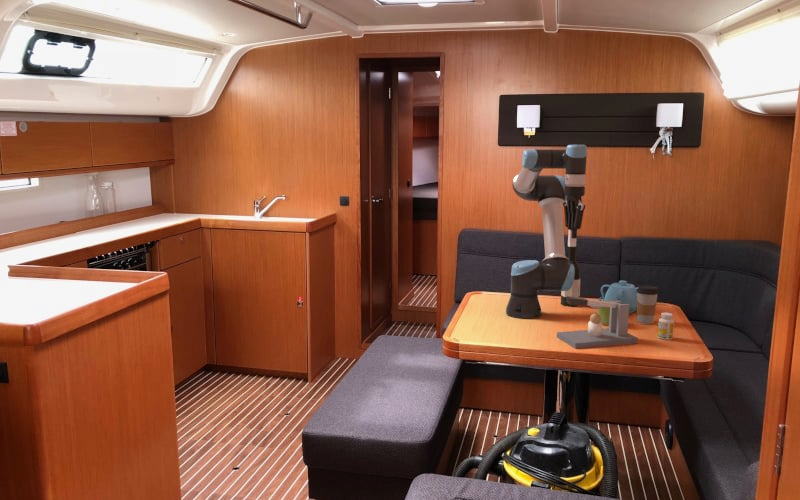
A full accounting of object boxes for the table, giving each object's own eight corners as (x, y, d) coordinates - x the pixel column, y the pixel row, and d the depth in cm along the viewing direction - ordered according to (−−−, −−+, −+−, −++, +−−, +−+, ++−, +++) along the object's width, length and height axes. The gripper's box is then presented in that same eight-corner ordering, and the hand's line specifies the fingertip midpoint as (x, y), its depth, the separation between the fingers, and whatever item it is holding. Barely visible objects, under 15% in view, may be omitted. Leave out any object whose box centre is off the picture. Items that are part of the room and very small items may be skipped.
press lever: (565, 303, 240) (566, 296, 239) (618, 309, 246) (619, 301, 245) (569, 306, 236) (571, 298, 236) (623, 311, 242) (625, 303, 242)
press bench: (556, 337, 247) (558, 302, 245) (616, 332, 253) (618, 297, 251) (575, 348, 234) (577, 311, 231) (637, 343, 240) (640, 306, 238)
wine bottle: (559, 302, 301) (562, 238, 296) (578, 302, 300) (581, 239, 295) (561, 306, 293) (564, 241, 288) (580, 307, 292) (583, 242, 287)
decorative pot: (595, 307, 292) (596, 277, 290) (627, 305, 296) (628, 276, 294) (614, 316, 277) (616, 285, 274) (647, 314, 280) (649, 283, 278)
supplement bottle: (660, 340, 244) (662, 315, 242) (655, 335, 249) (657, 311, 247) (674, 340, 244) (676, 315, 242) (669, 336, 249) (671, 312, 247)
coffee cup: (657, 325, 263) (660, 289, 260) (636, 324, 265) (638, 288, 262) (654, 320, 271) (656, 285, 269) (633, 318, 273) (635, 284, 270)
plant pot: (619, 322, 268) (620, 302, 266) (616, 328, 259) (618, 307, 258) (596, 319, 272) (597, 299, 270) (593, 325, 263) (594, 304, 262)
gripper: (557, 184, 250) (555, 244, 254) (574, 186, 238) (571, 249, 242) (575, 184, 252) (572, 243, 256) (592, 186, 239) (589, 248, 244)
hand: (571, 246), depth 249 cm, fingers closed
